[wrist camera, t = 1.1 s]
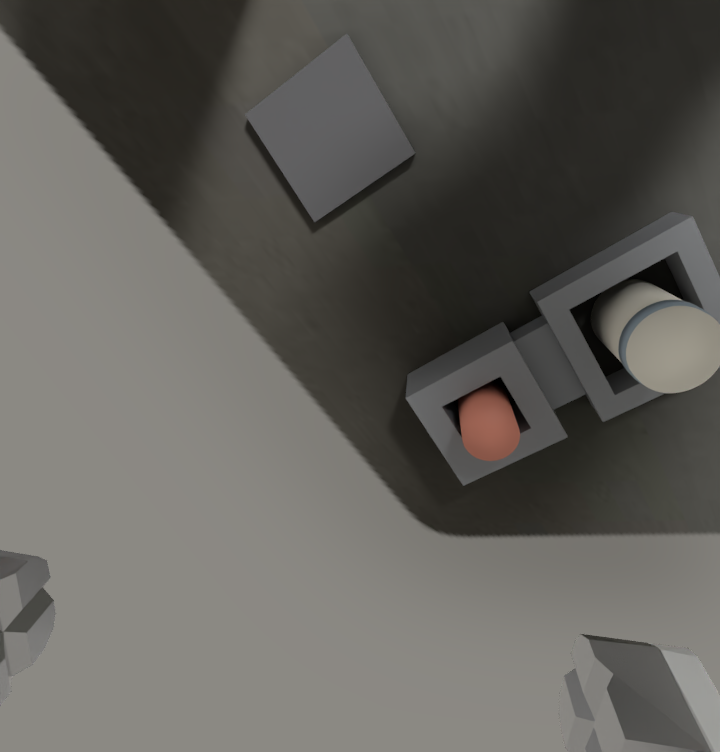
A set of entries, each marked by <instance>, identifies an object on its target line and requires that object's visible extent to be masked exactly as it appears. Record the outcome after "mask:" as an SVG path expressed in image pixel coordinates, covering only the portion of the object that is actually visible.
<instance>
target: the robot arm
mask: <svg viewBox="0 0 720 752" xmlns="http://www.w3.org/2000/svg"><path fill="white" fill-rule="evenodd" d="M49 579H50V573H49V569H48V564H47V560H45V559H42V558H40V557H37V556H31V555H25V554H19V553H14V552H8V551H2V550H0V705H1V704H2V703H3V702H4V700H5V699H6V698H7V696H8V695H9V694H10V693H11V683H12V676H14V675H15V674H17V673H19V672H21V671H22V670H24V669H26V668H28V667H30V666H31V665H33V663H34V662H35V661H36V659H37V658H38V656H39V655H40V654H41V653H42V651H43V650H44V648H45V646H46V644H47V642H48V639H49V637H50V635H51V632H52V630H53V627H54V620H55V606H54V600H53V599H52V598H51V597H50V595H49V594H48V593H47V592H46V591H45V590H44V589H43V586H44V585H45V584H46V583H47V581H48V580H49ZM571 655H572V659H573V662H574V664H575V669H573V670H572V671H571V672H569V673H568V674H566V675H565V676H564V678H563V682H562V686H561V690H560V695H559V718H560V726H561V732H562V736H563V741H564V744H565V748H566V749H567V751H568V752H720V694H719V693H718V691H717V689H716V688H715V686H714V684H713V683H712V681H711V679H710V677H709V676H708V674H707V672H706V670H705V669H704V667H703V665H702V664H701V662H700V660H699V659H698V657H697V655H696V654H695V653H694V652H692V651H691V650H690V649H689V648H683V647H676V646H669V645H661V644H653V643H652V644H648V643H644V642H636V641H629V640H622V639H614V638H607V637H599V636H592V635H584V634H580V635H579V636H578V638H577V639H576V640H575V643H574V646H573V649H572V652H571Z"/></svg>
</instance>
